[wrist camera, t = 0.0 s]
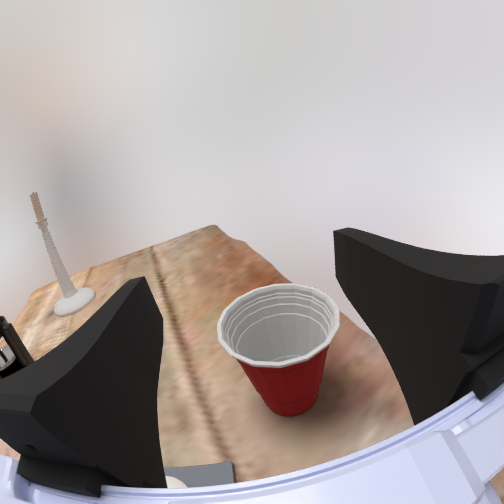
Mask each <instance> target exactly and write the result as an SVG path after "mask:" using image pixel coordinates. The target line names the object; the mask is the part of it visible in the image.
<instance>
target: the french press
mask: <svg viewBox="0 0 504 504" xmlns="http://www.w3.org/2000/svg"><path fill="white" fill-rule="evenodd" d="M2 336H3V337H4V339H5V341H6V342H7V345H5V346H3V347H2V348H0V380H1V379H3V378H5V377H7V376H9V375H12V374H14V373H16V372H18V371H19V370H21V369H23V368H25V367H27V366H28V365H30V364H32V363H33V362H35V361H34V360H33V358H32V357H31V355H30V354H29V352H28V351H27V349H26V347H25V346H24V344H23V343H22V341H21V339H20V338H19V336H18V334H17V333H16V331H15V329H14V327H13V326H12V324H11V323H7V321H6V319H5V317H4V316H0V338H1V337H2Z"/></svg>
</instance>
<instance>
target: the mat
mask: <svg viewBox="0 0 504 504" xmlns="http://www.w3.org/2000/svg"><path fill="white" fill-rule="evenodd" d="M164 473H165V476H170V477H174V478H177V479H178V480H180V481H182V482H183V483H184V484H185V485H186V486H187V487H189V488H191V487H205V486H216V485H225V484H232V483H235V477H234V469H233V463H232V462H225V463H217V464H209V465H199V466H188V467H171V468H164Z"/></svg>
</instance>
